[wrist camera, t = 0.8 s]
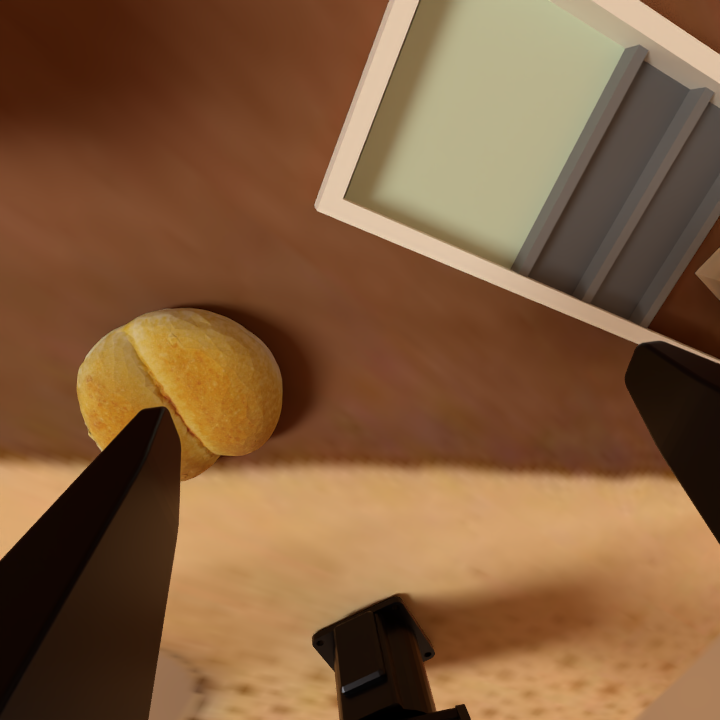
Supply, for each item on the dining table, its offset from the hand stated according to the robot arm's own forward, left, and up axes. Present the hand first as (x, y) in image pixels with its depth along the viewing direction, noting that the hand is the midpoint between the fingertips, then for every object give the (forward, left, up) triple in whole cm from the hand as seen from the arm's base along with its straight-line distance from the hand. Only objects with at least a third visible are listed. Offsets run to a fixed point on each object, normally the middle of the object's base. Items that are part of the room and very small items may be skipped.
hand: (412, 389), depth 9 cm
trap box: (-4, -13, -14) cm, 20 cm away
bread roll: (-3, +10, -15) cm, 18 cm away
